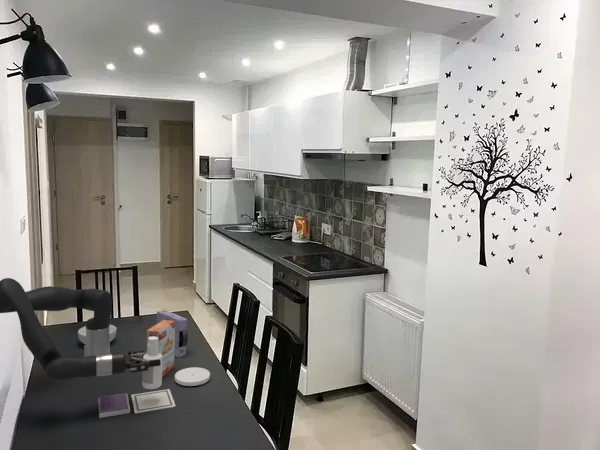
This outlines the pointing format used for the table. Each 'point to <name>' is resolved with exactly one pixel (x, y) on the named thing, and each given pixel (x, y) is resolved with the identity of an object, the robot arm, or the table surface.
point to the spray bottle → (153, 374)
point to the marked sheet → (152, 401)
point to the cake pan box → (176, 331)
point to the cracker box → (164, 343)
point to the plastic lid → (192, 376)
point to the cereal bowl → (83, 333)
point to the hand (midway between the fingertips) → (158, 358)
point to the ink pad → (113, 405)
